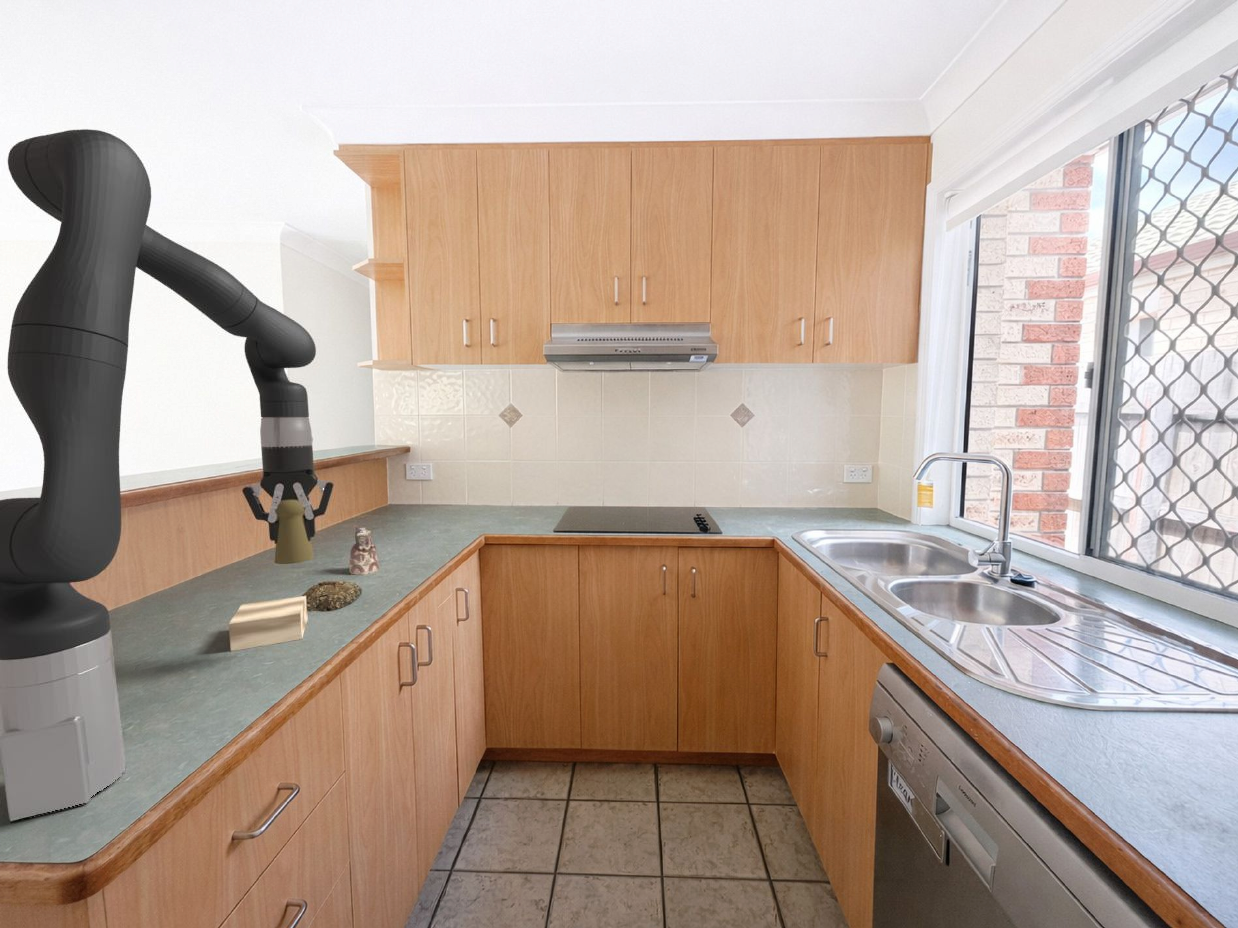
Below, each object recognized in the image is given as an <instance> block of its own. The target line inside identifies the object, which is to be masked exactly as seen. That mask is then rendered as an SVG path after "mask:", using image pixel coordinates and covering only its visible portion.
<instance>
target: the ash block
mask: <svg viewBox="0 0 1238 928" xmlns="http://www.w3.org/2000/svg"><path fill="white" fill-rule="evenodd" d="M308 619H309V616H308V611H307V602H306V596H302V595H301V596H300V595H299V596H294V597H286V598H280V599H279V598H278V599H273V600H264V601H257V602H251V603H244V604H243V603H242V604H241V605H240V606H239V608H238V610H237V611H236V612H235V614H234V615H233V617H232V618H231V619H230V621H229V623H228V634H229V643H230V652H234V651H240V650H246V649H252V648H258V647H263V646H269V645H275V644H280V643H288V642H294V641H300V640H303V637H304V633H305V630H306V627H307V622H308Z"/></svg>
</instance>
